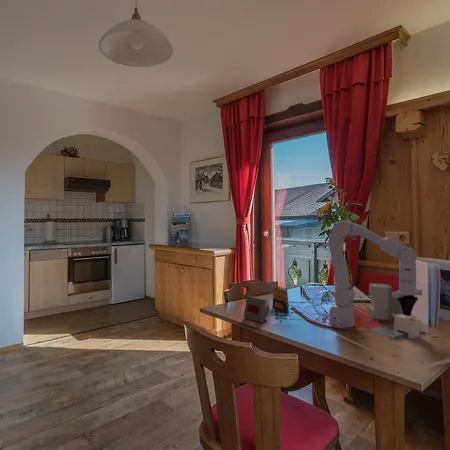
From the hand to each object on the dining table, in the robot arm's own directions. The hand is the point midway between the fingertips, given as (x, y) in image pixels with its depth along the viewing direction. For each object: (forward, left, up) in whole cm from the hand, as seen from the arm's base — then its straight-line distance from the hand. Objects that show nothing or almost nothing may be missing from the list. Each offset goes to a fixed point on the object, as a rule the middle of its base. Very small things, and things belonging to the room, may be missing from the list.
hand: (406, 315), depth 126 cm
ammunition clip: (-25, +49, -8) cm, 55 cm away
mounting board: (0, +3, -8) cm, 9 cm away
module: (0, 0, -7) cm, 7 cm away
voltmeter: (-37, +36, -8) cm, 53 cm away
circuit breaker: (+12, +19, -8) cm, 24 cm away
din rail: (0, 0, -7) cm, 7 cm away
